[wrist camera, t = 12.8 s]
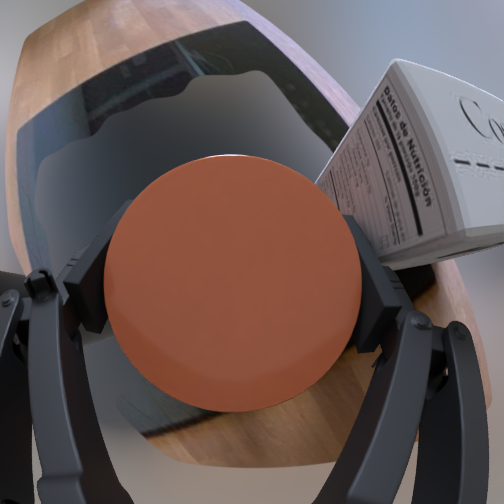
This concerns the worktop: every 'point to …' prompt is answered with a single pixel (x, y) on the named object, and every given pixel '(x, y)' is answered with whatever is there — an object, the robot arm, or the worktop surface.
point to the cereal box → (422, 168)
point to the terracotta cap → (232, 283)
